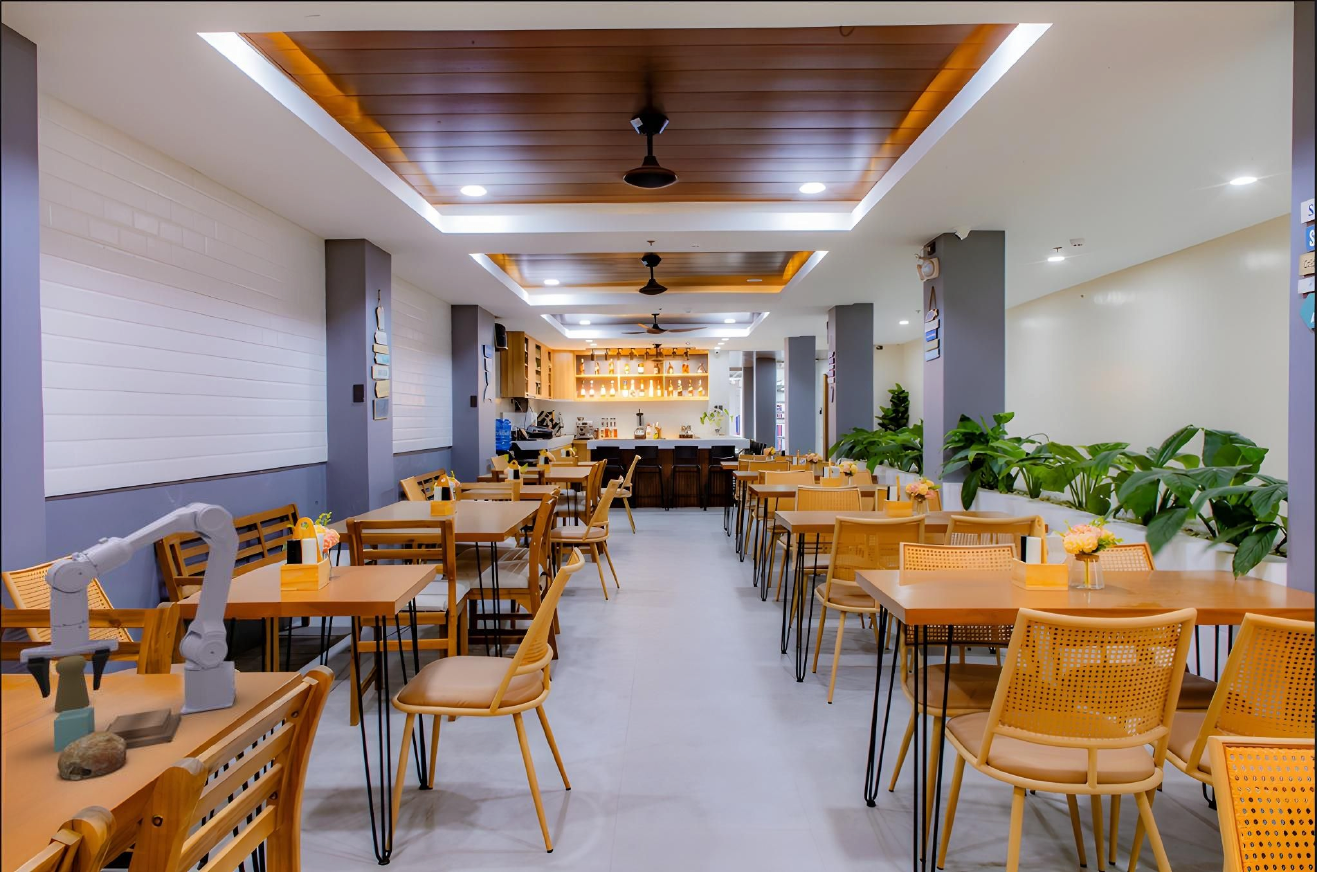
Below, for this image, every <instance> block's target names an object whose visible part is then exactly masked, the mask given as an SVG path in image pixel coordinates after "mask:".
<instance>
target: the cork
mask: <svg viewBox="0 0 1317 872" xmlns="http://www.w3.org/2000/svg"><path fill="white" fill-rule="evenodd" d="M86 667H87V658H86V657H85V656H84V655H81V654H77V655H69V656H64V657H62V658H60V659H59V660H57V662H56V664H55V672H56V673H57V674H58V681H57V687H56V694H55V695H56V696H55V701H54V702H55V703H54V713H58V714H60V713H61V712H62V711H68V710H75V709H82V708H84V707H85V708H88V707H89V706H90V705H89V703H90V704H91V702H90V698H89V692H88V688H87V681H86V677H85V672H84V670H85V668H86ZM88 705H89V706H88Z"/></svg>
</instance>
